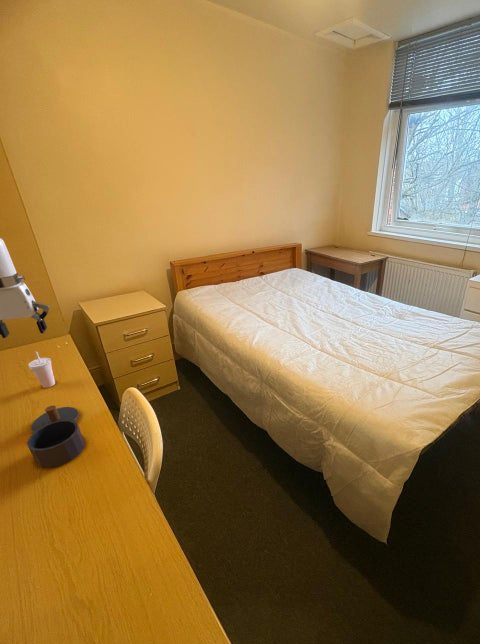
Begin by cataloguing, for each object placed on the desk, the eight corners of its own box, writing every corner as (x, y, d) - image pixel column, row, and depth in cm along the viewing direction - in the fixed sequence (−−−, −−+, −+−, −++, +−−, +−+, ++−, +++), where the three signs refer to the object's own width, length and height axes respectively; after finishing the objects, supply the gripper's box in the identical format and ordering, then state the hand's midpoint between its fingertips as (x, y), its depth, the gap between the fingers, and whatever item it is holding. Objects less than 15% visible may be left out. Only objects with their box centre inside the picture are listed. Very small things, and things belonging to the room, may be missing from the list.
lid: (27, 441, 92) (19, 426, 90) (38, 415, 102) (32, 401, 99) (75, 430, 96) (69, 415, 94) (82, 406, 106) (77, 392, 104)
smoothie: (46, 391, 113) (31, 357, 106) (33, 387, 115) (18, 354, 108) (63, 381, 118) (50, 348, 111) (51, 378, 120) (38, 345, 113)
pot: (30, 473, 83) (21, 455, 80) (42, 443, 92) (34, 425, 89) (81, 460, 86) (73, 442, 84) (87, 432, 96) (81, 415, 93)
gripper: (42, 275, 98) (60, 325, 106) (-29, 280, 93) (-4, 332, 101) (34, 282, 92) (54, 334, 100) (-43, 288, 87) (-15, 343, 94)
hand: (25, 333), depth 100 cm, fingers open, 9 cm apart
